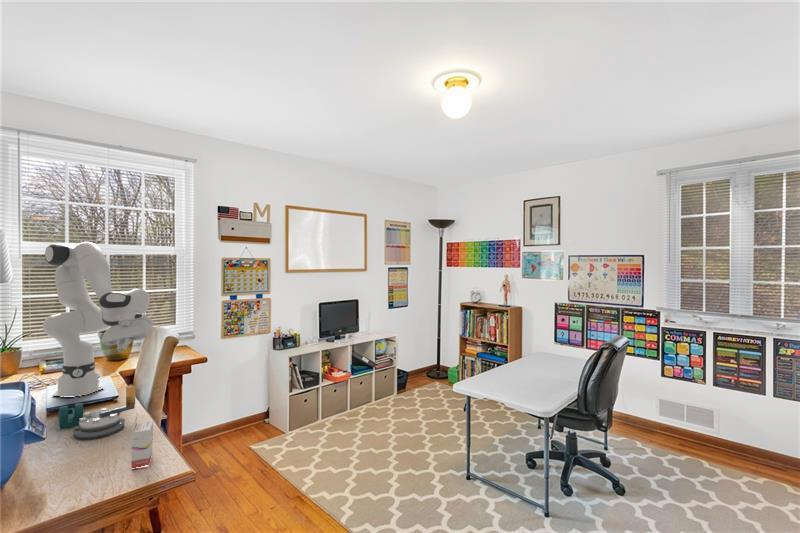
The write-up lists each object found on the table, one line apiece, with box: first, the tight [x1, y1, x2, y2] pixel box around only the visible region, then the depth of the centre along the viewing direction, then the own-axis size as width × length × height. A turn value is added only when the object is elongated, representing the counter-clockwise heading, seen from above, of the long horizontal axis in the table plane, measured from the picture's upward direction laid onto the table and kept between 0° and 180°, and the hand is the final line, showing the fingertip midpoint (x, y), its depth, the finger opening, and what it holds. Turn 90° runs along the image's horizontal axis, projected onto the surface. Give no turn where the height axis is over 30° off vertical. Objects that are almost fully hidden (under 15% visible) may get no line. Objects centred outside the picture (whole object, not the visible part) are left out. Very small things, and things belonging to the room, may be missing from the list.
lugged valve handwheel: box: [79, 385, 136, 432], centre depth 146 cm, size 18×12×12 cm
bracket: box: [58, 402, 84, 431], centre depth 153 cm, size 18×7×8 cm, turn 43°
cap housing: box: [73, 417, 126, 441], centre depth 144 cm, size 15×15×2 cm
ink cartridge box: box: [131, 413, 154, 468], centre depth 122 cm, size 9×5×15 cm, turn 27°
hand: (121, 349), depth 161 cm, fingers closed
